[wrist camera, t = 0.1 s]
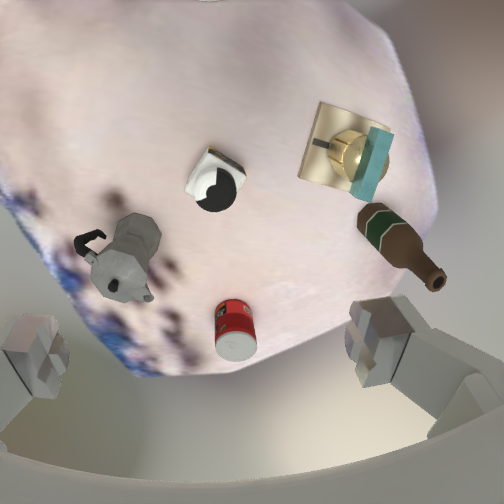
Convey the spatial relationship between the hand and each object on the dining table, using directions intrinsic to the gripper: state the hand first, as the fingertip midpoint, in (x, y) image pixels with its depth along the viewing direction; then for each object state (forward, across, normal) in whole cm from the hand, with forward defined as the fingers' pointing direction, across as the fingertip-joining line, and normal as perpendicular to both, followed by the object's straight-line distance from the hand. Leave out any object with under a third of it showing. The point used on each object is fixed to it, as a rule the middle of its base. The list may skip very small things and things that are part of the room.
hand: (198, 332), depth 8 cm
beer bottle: (+48, -30, +17) cm, 59 cm away
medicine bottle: (+48, 0, +7) cm, 49 cm away
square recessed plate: (+48, -23, +3) cm, 53 cm away
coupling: (+45, -23, +3) cm, 51 cm away
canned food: (+48, -2, +37) cm, 61 cm away
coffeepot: (+48, +16, +17) cm, 54 cm away
